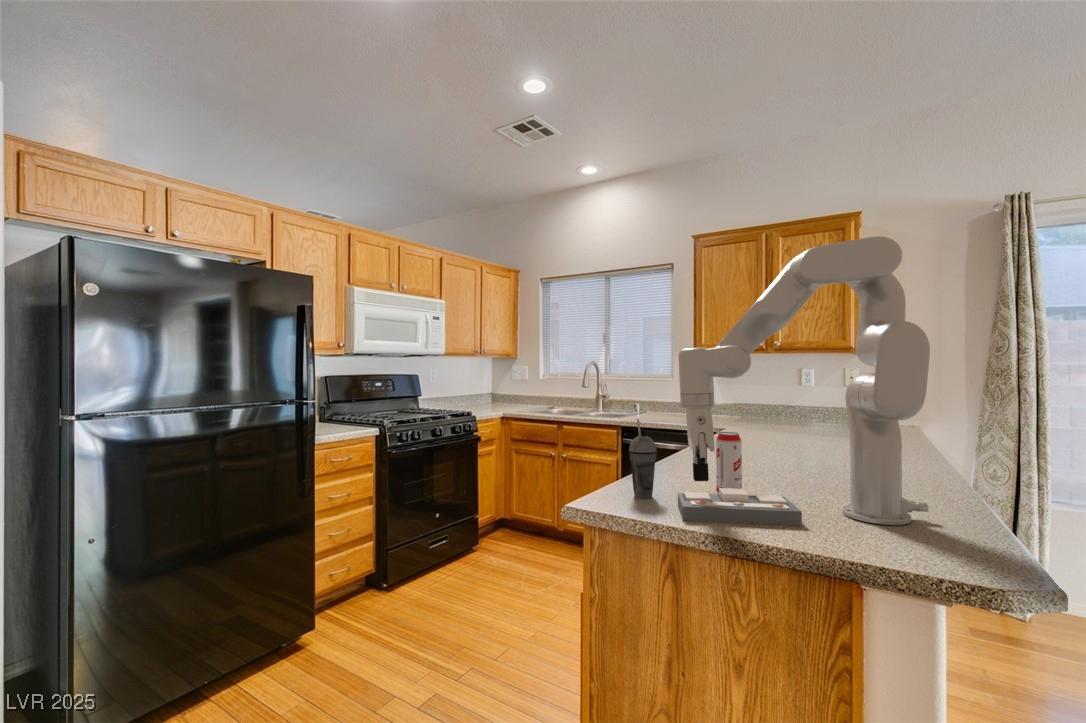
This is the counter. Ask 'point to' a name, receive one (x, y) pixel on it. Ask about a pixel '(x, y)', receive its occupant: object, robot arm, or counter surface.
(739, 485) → the beer can
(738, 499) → the middle key
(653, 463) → the beverage cup
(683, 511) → the button board
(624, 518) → the counter surface
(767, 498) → the key
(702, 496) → the key
